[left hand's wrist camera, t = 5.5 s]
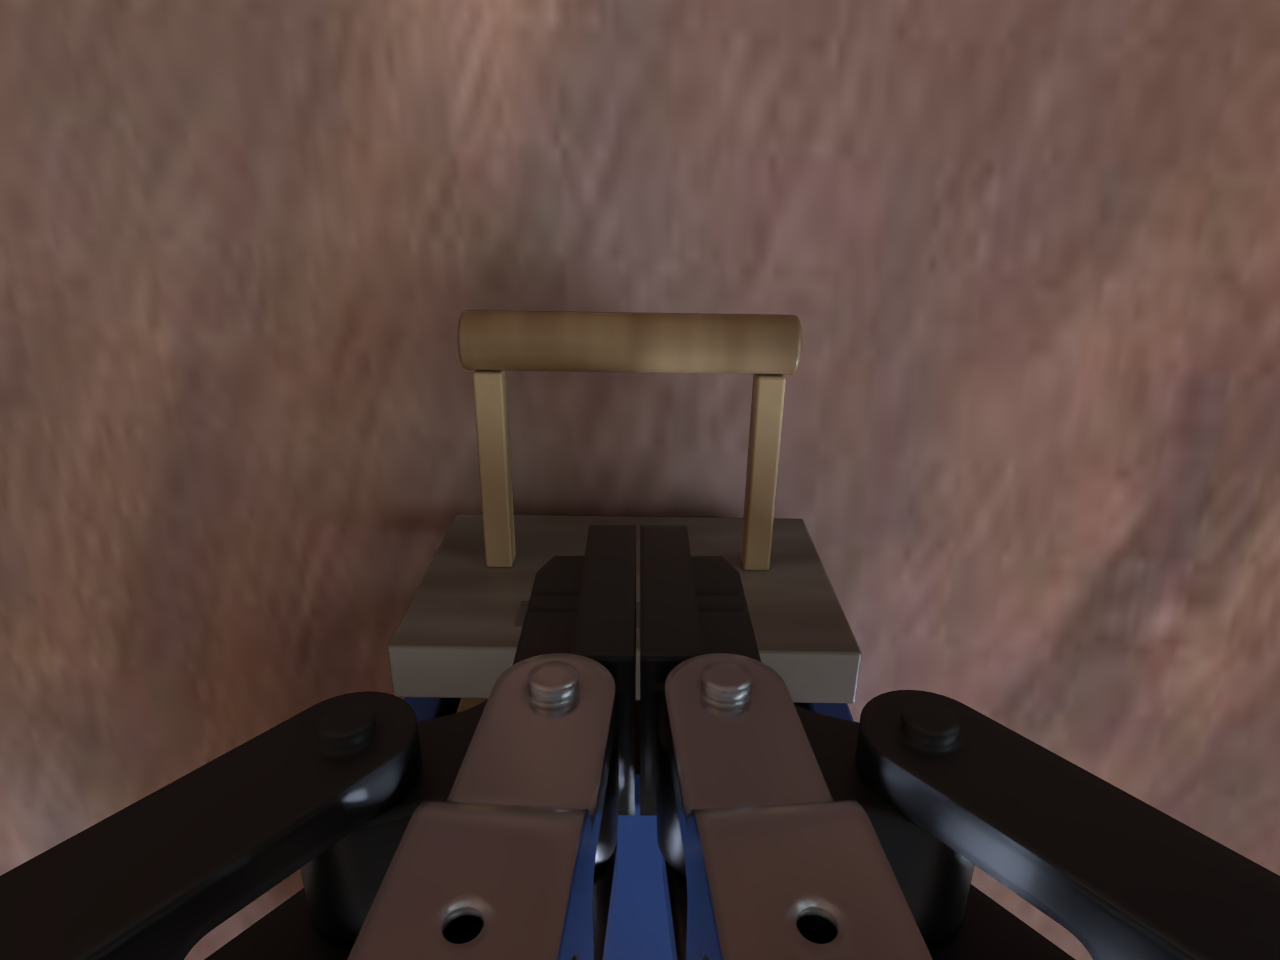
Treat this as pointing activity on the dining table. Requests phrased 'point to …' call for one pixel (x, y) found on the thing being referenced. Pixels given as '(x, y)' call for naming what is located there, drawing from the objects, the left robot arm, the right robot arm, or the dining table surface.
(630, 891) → the cabinet
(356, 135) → the dining table surface
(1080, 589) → the dining table surface
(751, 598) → the drawer
